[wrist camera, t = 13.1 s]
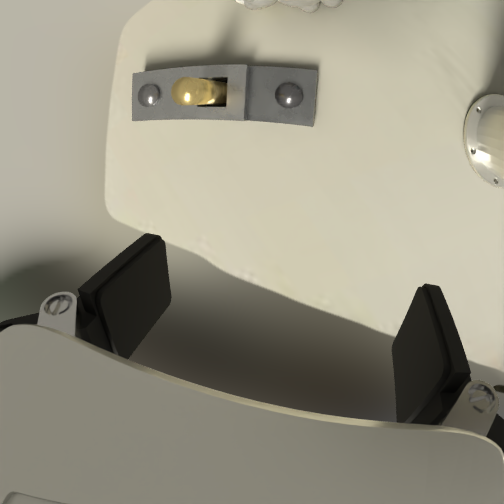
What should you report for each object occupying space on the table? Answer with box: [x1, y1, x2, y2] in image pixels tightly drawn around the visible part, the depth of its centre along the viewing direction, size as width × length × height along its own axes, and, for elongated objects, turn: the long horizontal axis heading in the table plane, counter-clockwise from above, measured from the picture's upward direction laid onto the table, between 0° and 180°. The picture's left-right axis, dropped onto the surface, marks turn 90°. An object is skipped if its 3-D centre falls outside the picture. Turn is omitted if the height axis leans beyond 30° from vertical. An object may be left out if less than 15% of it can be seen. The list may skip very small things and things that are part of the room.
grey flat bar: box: [132, 64, 318, 127], centre depth 32 cm, size 24×7×3 cm, turn 86°
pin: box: [171, 77, 227, 105], centre depth 29 cm, size 3×3×10 cm
